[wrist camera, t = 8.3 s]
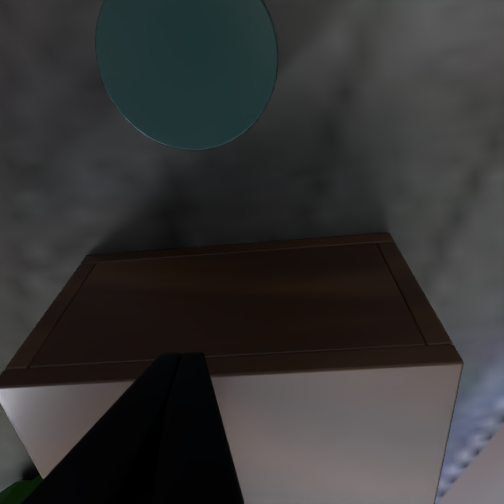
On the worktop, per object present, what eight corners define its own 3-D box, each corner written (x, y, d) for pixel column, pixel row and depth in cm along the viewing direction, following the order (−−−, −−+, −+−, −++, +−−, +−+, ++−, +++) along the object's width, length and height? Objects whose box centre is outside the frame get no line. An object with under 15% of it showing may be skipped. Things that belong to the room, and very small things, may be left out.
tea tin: (157, 120, 17) (120, 158, 12) (128, -24, 14) (69, -39, 10) (277, 108, 16) (283, 143, 12) (268, -40, 14) (271, -64, 10)
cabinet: (375, 430, 26) (417, 588, 19) (148, 440, 27) (107, 594, 19) (389, 232, 19) (465, 362, 12) (86, 254, 20) (-11, 387, 13)
